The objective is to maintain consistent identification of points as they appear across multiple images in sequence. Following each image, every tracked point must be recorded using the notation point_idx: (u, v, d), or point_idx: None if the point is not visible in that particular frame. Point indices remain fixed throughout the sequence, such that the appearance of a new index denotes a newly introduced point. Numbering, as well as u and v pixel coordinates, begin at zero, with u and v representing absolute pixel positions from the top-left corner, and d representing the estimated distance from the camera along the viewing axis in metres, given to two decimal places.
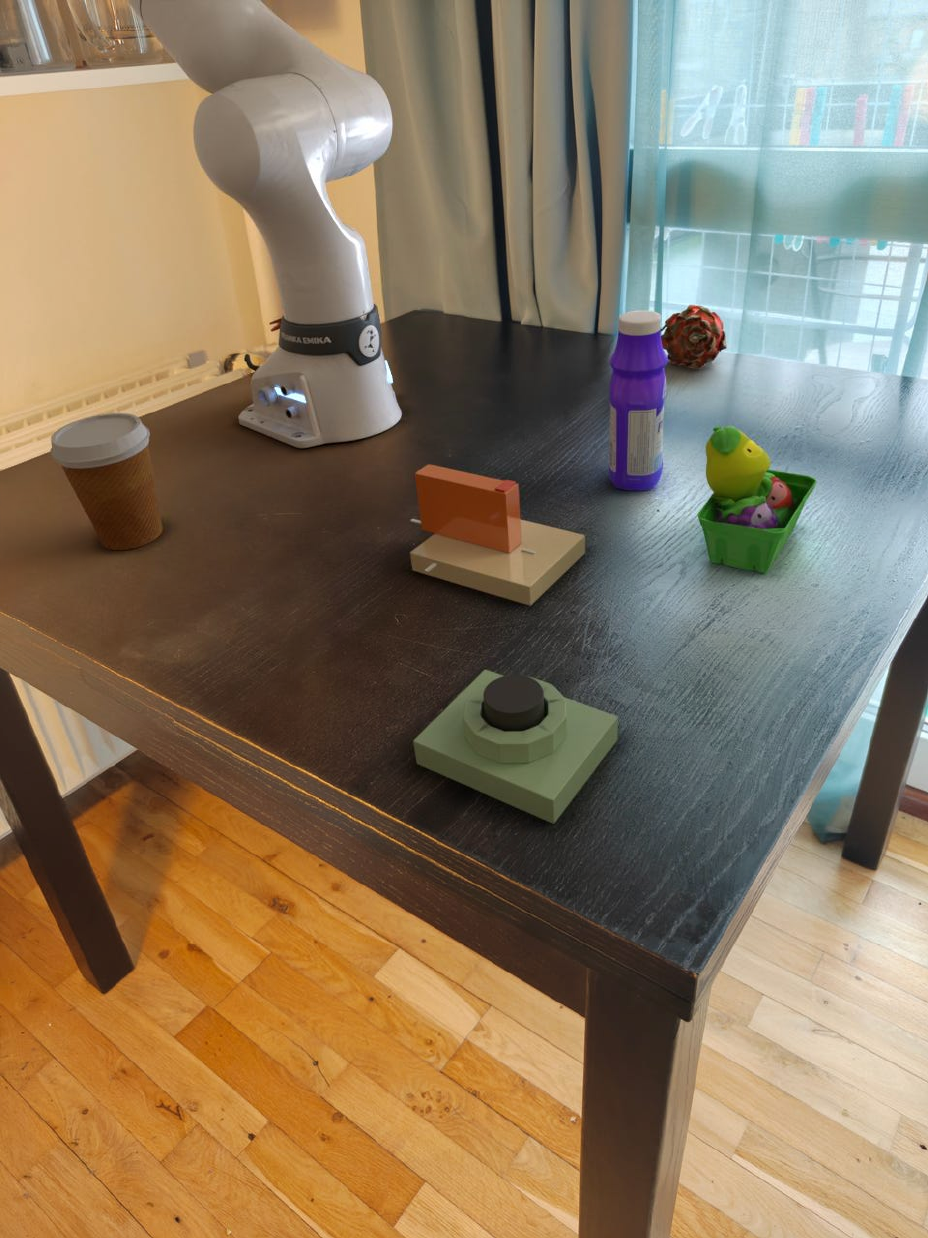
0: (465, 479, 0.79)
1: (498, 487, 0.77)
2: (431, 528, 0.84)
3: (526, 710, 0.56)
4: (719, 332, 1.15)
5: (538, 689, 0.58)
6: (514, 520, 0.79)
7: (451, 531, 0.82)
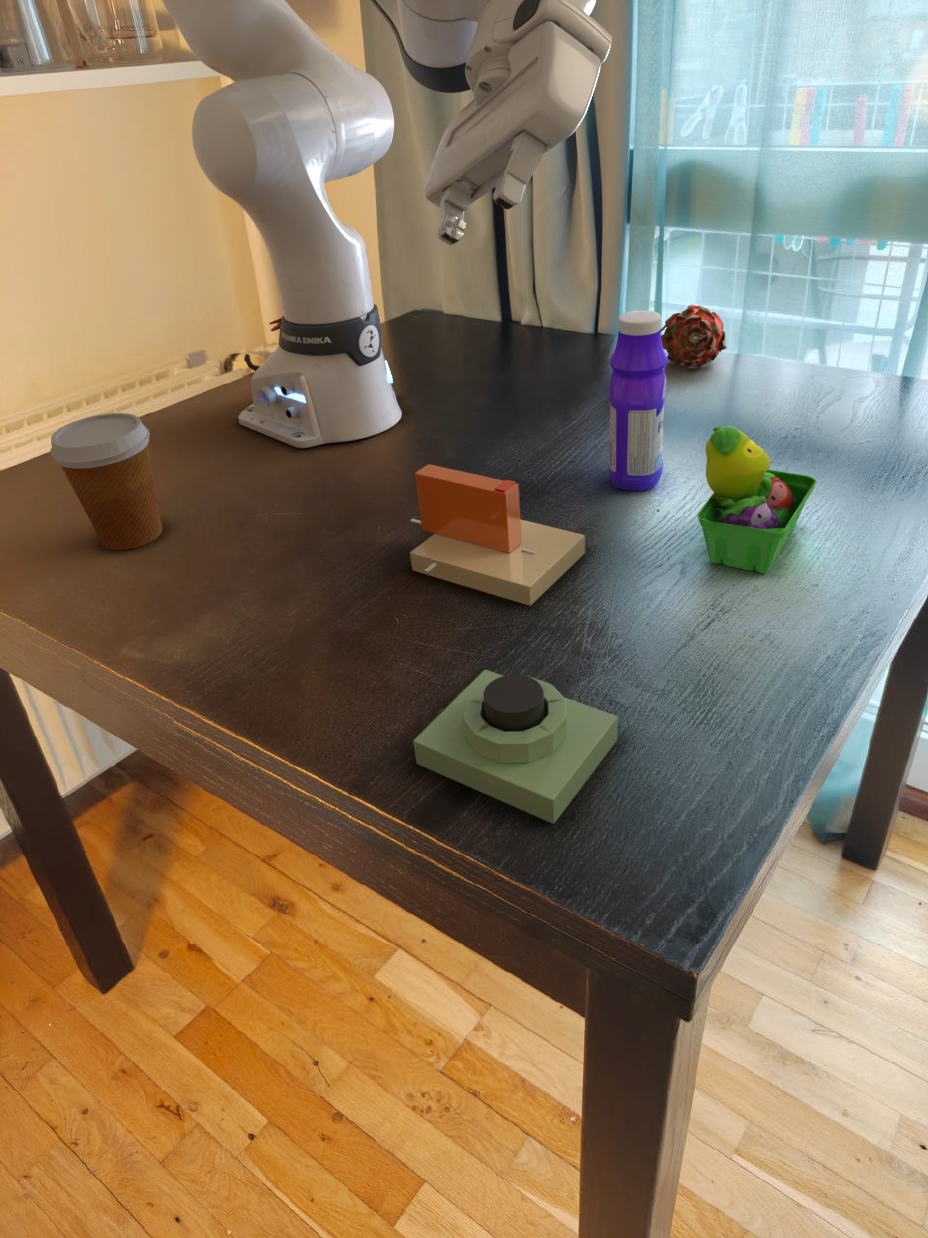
0: (465, 479, 0.79)
1: (498, 487, 0.77)
2: (431, 528, 0.84)
3: (526, 710, 0.56)
4: (719, 332, 1.15)
5: (538, 689, 0.58)
6: (514, 520, 0.79)
7: (451, 531, 0.82)
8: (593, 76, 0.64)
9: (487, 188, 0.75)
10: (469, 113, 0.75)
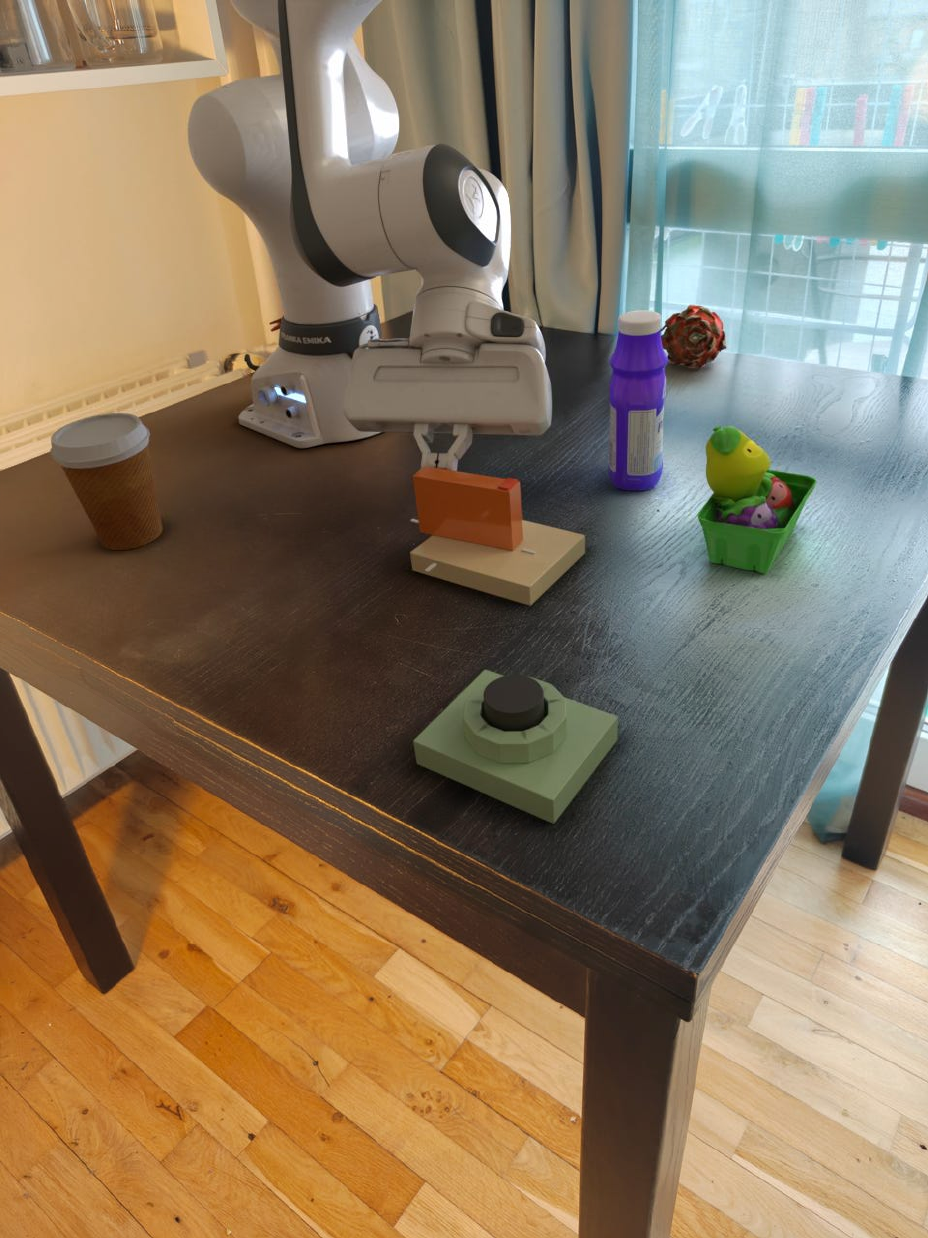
0: (465, 479, 0.79)
1: (501, 485, 0.77)
2: (430, 530, 0.83)
3: (526, 710, 0.56)
4: (719, 332, 1.15)
5: (538, 689, 0.58)
6: (517, 518, 0.79)
7: (451, 532, 0.82)
8: (551, 391, 0.84)
9: None
10: (407, 363, 0.84)
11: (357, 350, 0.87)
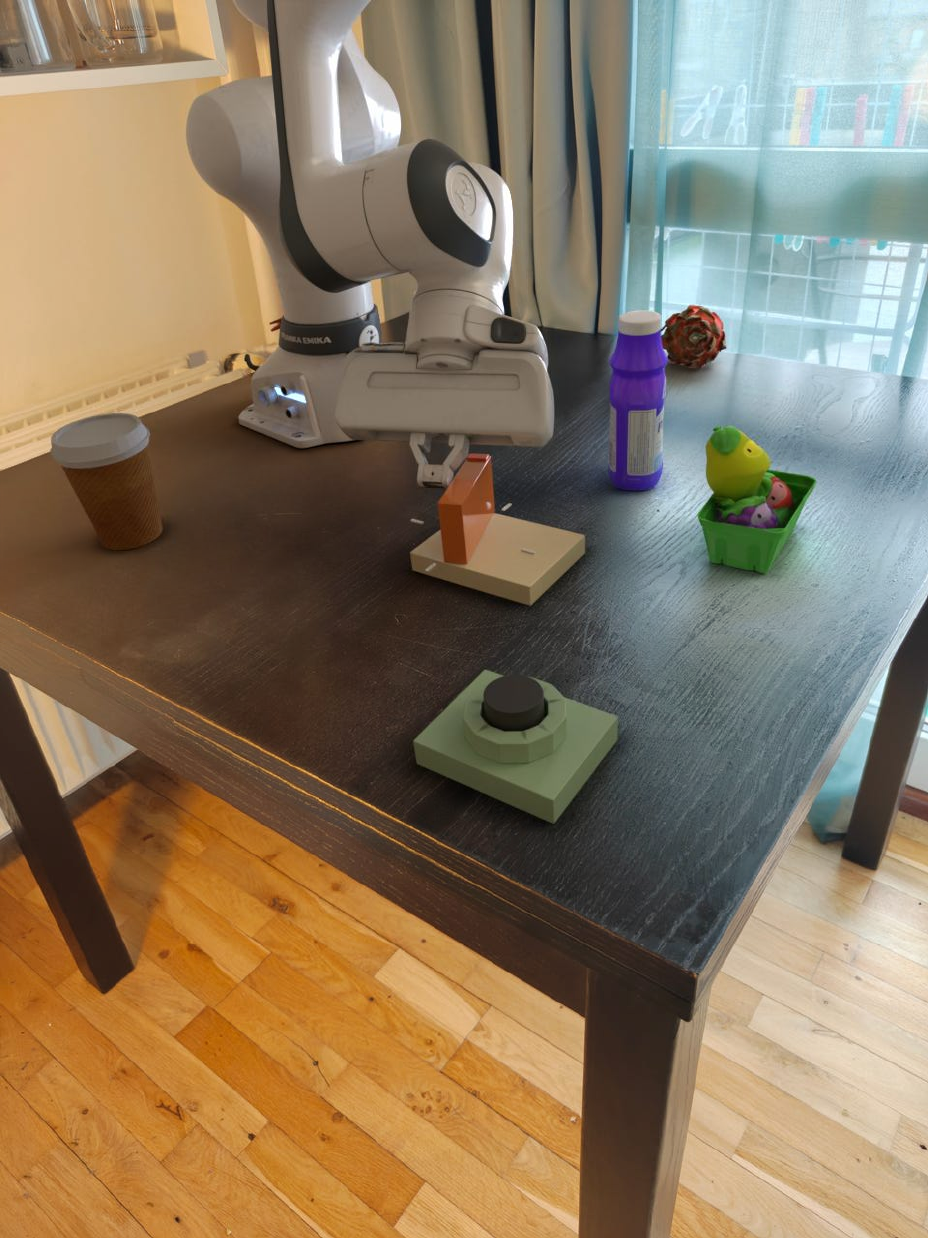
0: (467, 477, 0.79)
1: (484, 457, 0.82)
2: (470, 552, 0.79)
3: (526, 710, 0.56)
4: (719, 332, 1.15)
5: (538, 689, 0.58)
6: None
7: (477, 537, 0.81)
8: (553, 401, 0.80)
9: None
10: (402, 369, 0.80)
11: (350, 354, 0.83)
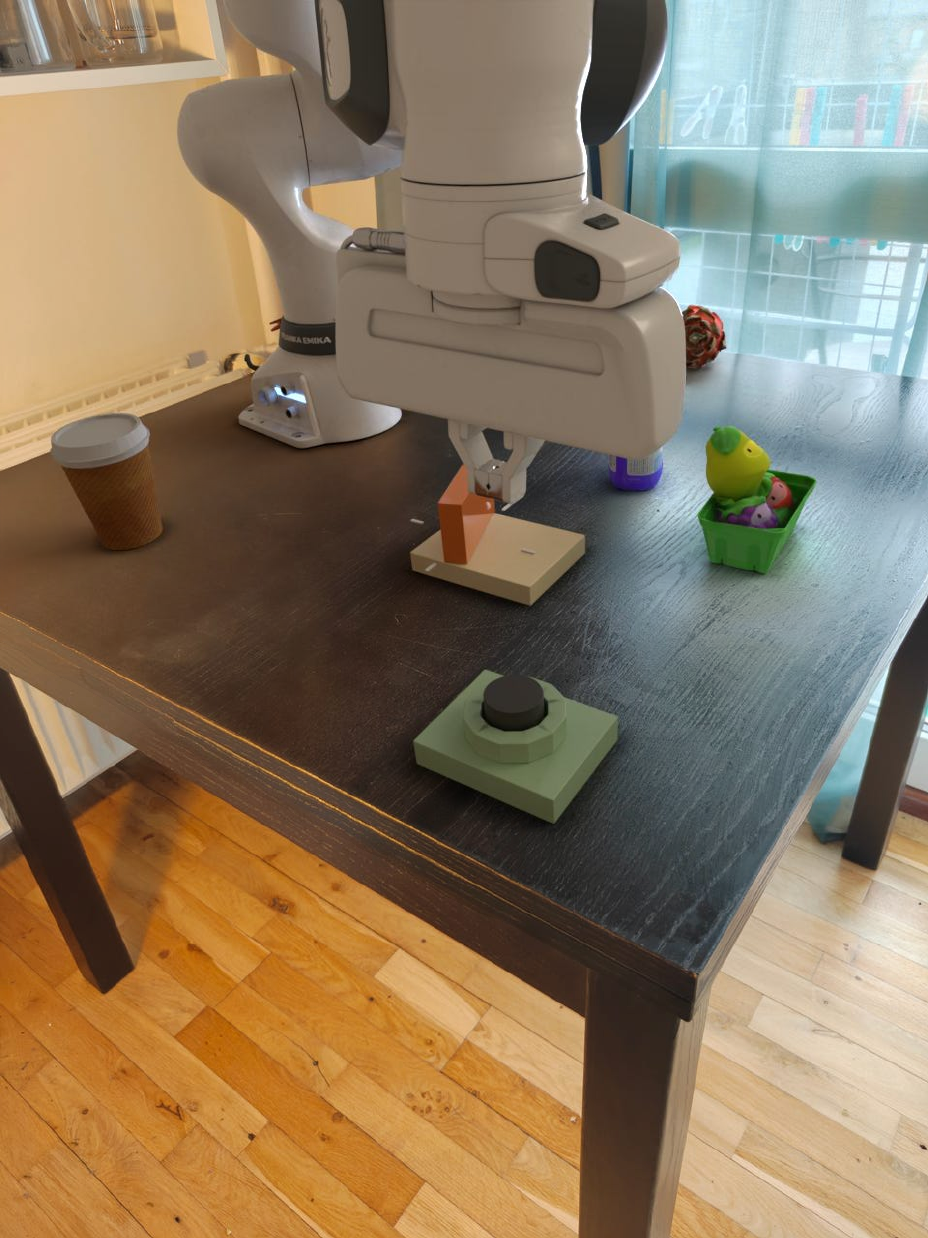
0: None
1: None
2: (470, 552, 0.79)
3: (526, 710, 0.56)
4: (719, 332, 1.15)
5: (538, 689, 0.58)
6: None
7: (477, 537, 0.81)
8: (684, 352, 0.42)
9: None
10: (413, 311, 0.46)
11: (340, 253, 0.48)
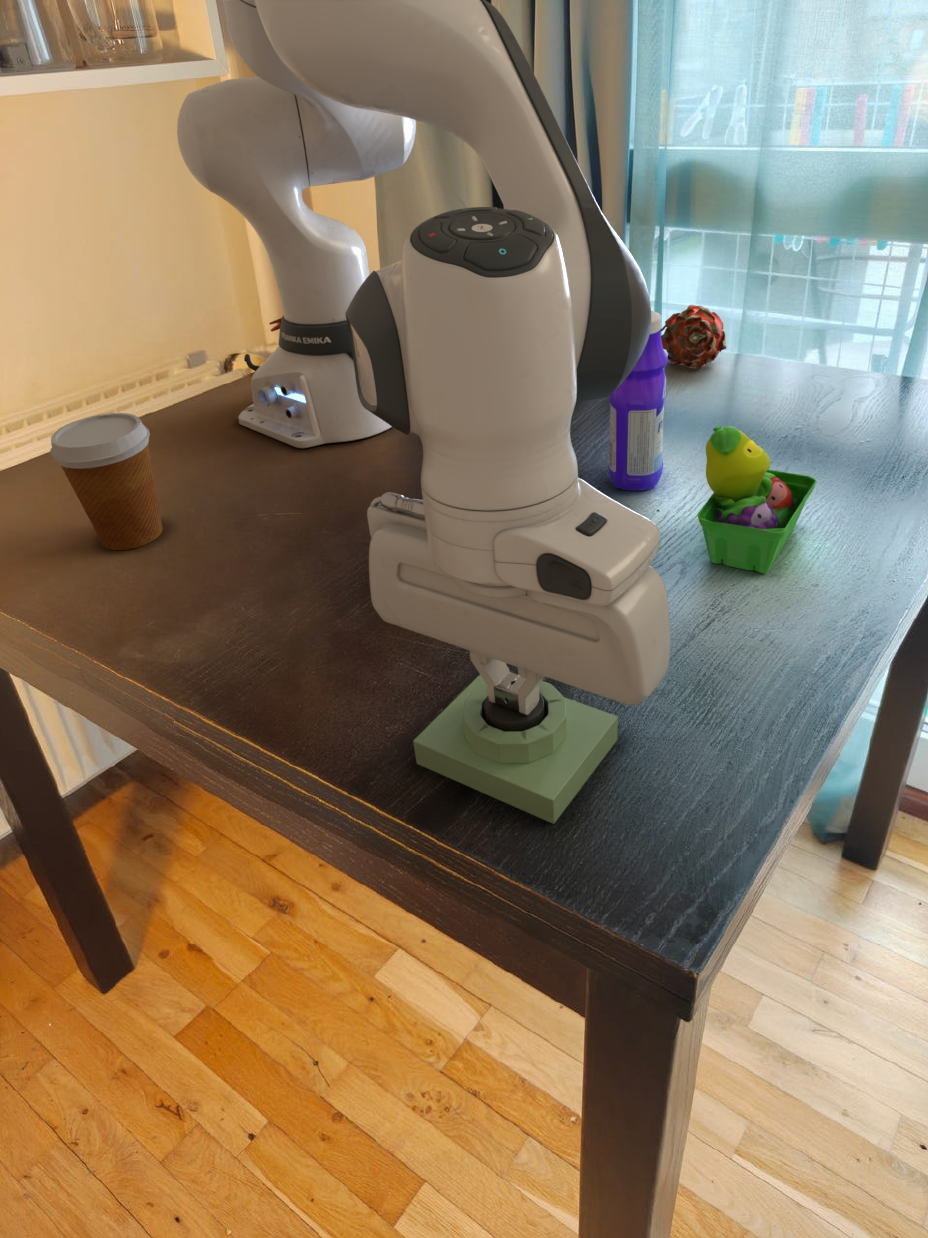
0: None
1: None
2: None
3: (527, 720, 0.57)
4: (719, 332, 1.15)
5: None
6: None
7: None
8: (667, 615, 0.49)
9: None
10: (436, 570, 0.53)
11: (370, 511, 0.56)
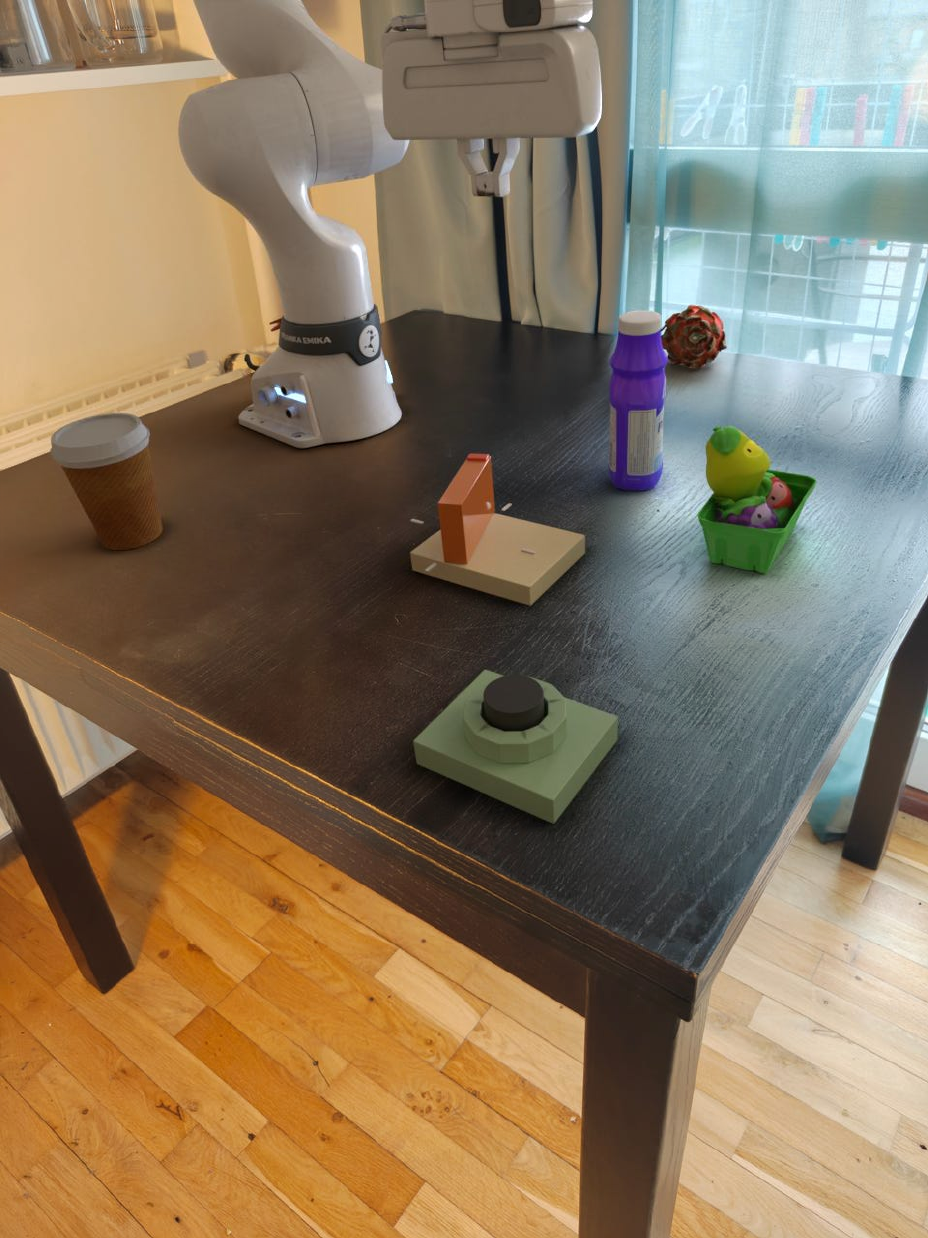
0: (467, 477, 0.79)
1: (484, 457, 0.82)
2: (470, 552, 0.79)
3: (526, 710, 0.56)
4: (719, 332, 1.15)
5: (538, 689, 0.58)
6: None
7: (477, 537, 0.81)
8: (598, 66, 0.69)
9: None
10: (432, 62, 0.73)
11: (383, 36, 0.75)
